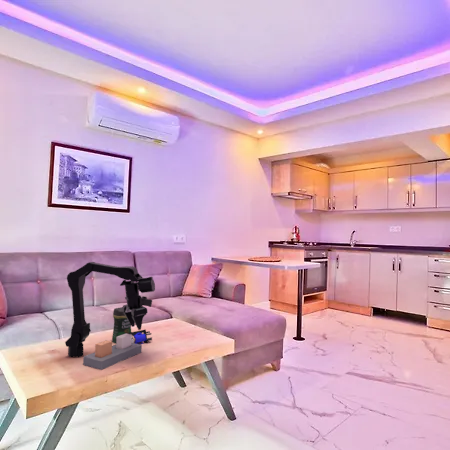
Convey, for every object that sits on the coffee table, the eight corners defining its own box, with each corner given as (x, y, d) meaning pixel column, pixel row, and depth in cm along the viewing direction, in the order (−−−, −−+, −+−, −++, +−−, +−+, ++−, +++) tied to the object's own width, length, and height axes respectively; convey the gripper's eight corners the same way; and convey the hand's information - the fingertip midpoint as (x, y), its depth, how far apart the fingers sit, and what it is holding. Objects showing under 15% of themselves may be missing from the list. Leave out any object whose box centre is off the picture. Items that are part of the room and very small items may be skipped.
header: (83, 367, 143) (83, 356, 143) (124, 350, 164) (124, 341, 165) (101, 372, 138) (101, 361, 138) (141, 354, 159) (141, 344, 159)
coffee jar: (117, 346, 170) (118, 309, 170) (109, 343, 175) (110, 307, 176) (134, 342, 177) (135, 307, 177) (126, 339, 182) (127, 304, 183)
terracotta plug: (94, 363, 144) (95, 344, 144) (105, 359, 150) (106, 340, 150) (100, 365, 143) (101, 345, 143) (111, 360, 148) (112, 341, 148)
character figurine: (154, 344, 175) (126, 351, 165) (147, 340, 180) (120, 346, 171) (155, 330, 174) (127, 335, 165) (148, 325, 180) (121, 330, 170)
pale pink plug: (116, 355, 155) (116, 336, 155) (125, 351, 160) (125, 333, 160) (121, 356, 153) (122, 337, 153) (131, 352, 158) (131, 334, 159)
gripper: (156, 292, 151) (160, 326, 150) (142, 289, 166) (146, 321, 166) (132, 297, 145) (136, 333, 144) (120, 294, 160) (123, 326, 160)
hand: (136, 328), depth 154 cm, fingers open, 9 cm apart
